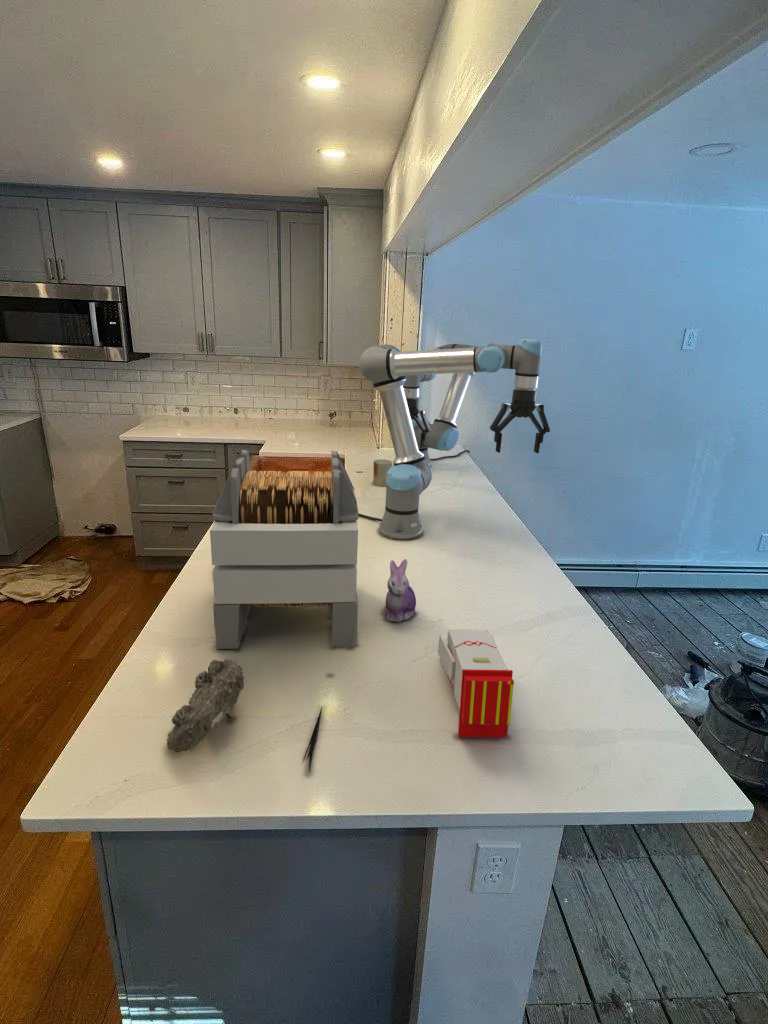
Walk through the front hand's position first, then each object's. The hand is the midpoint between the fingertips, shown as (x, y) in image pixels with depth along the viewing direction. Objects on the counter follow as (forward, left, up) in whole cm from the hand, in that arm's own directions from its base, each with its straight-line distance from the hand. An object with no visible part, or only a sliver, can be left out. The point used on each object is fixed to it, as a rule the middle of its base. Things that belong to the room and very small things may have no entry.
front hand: (517, 452), depth 193 cm
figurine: (+19, -69, -30) cm, 77 cm away
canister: (-72, +2, -30) cm, 78 cm away
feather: (+39, -108, -30) cm, 119 cm away
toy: (+51, -78, -30) cm, 98 cm away
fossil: (+26, -124, -30) cm, 130 cm away
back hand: (-69, +14, -13) cm, 71 cm away
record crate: (+1, -91, -30) cm, 96 cm away
